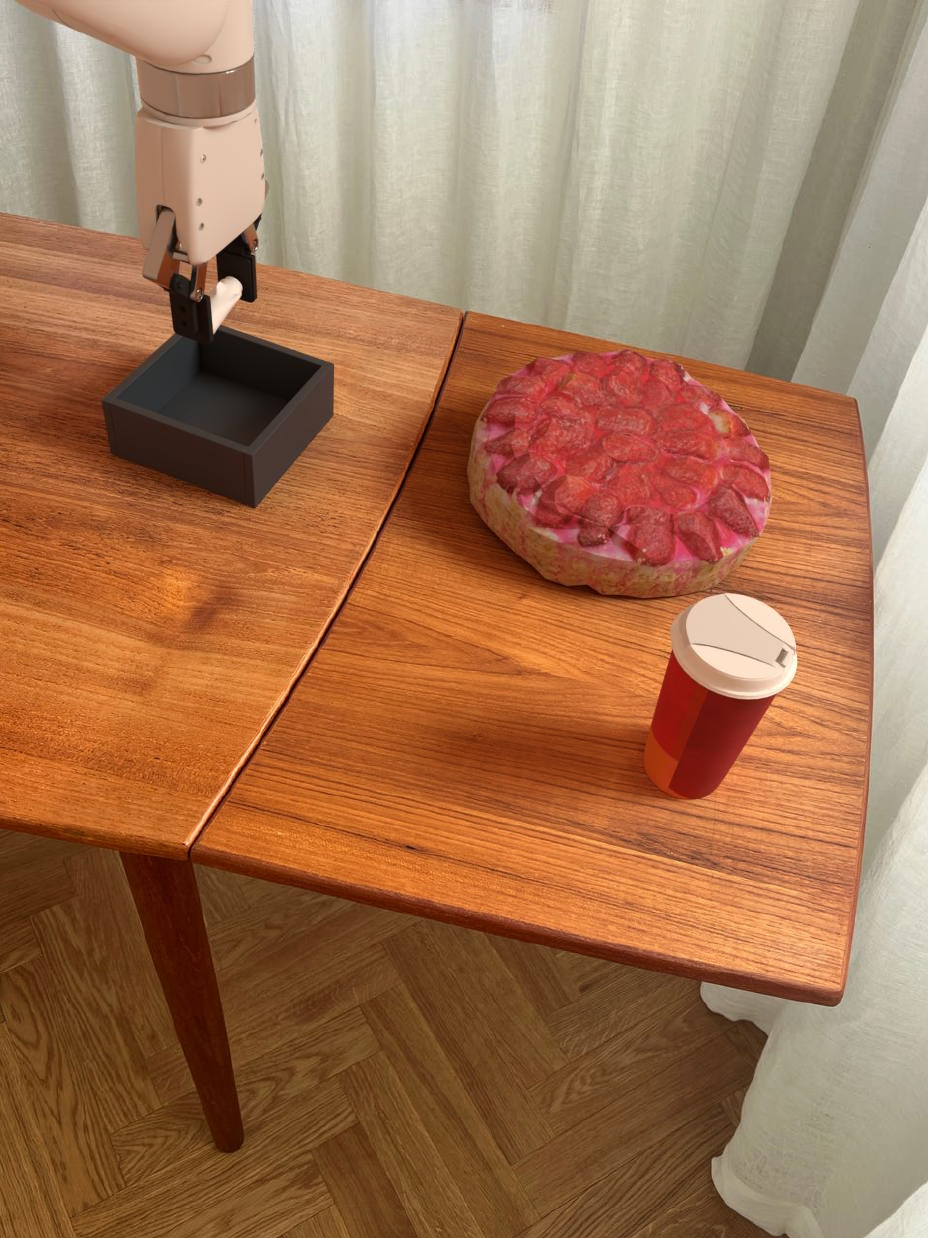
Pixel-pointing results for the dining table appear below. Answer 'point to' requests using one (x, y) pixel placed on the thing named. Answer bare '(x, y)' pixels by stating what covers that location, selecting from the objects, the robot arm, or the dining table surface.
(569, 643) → the dining table surface
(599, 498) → the cake
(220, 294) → the small white plastic part
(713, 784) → the paper cup
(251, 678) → the dining table surface
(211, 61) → the robot arm
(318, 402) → the bin
